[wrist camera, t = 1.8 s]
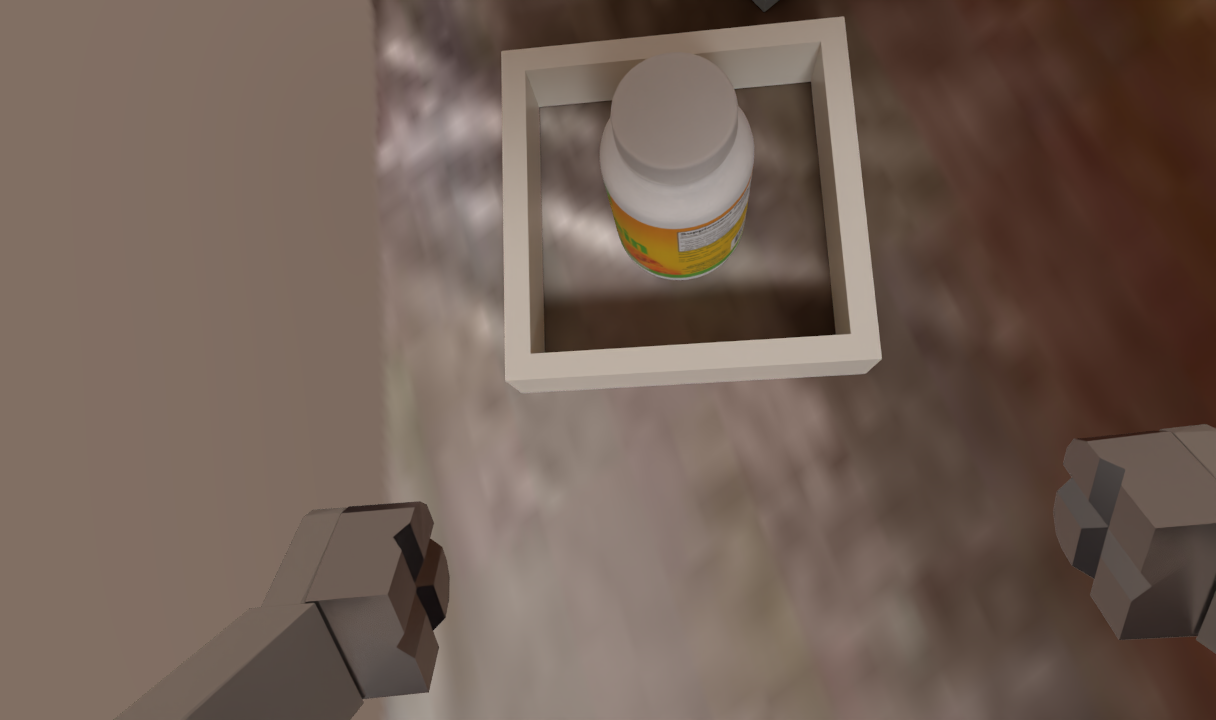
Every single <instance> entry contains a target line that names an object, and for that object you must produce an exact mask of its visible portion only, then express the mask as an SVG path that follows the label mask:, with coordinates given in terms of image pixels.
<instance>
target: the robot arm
mask: <svg viewBox="0 0 1216 720" xmlns="http://www.w3.org/2000/svg"><path fill="white" fill-rule="evenodd" d="M1063 465H1064V466H1065V468H1066V469H1067V471H1068V472H1069V473H1070V475H1071V476H1072V478H1071V479H1070V480H1069V481H1068V482H1066V483H1065V484H1064V485H1063V486H1062V487H1061V488H1060V489H1059V490H1058V491H1057V494H1056V499H1055V505H1054V511H1053V513H1054V521H1055V528H1056V534H1057V537H1058V539H1059V542H1060V545H1061V547H1062V550H1063V551H1064V553H1065V555H1066V556H1067V558H1068V560H1069V561H1070V563H1071V565H1072V566H1073V567H1075V568H1077V569H1078V570H1080V571H1082V572H1083V573H1085V574H1087V575H1088V576H1090V577H1092V578H1093V579H1094V583H1093V586H1092V590H1091V594H1090V595H1091V597H1092V598H1093V600H1094V601H1095V603H1096V605H1097V606H1098V608H1099V609H1100V611H1101V612H1102V614H1103V615H1104V617H1105V619H1106V620H1107V622H1108V623H1109V625H1110V626H1111V628H1112V630H1113V631H1114V633H1115V634H1116V636H1117V637H1118V639H1119V640H1130V639H1150V638H1170V637H1190V636H1197V639H1196V640H1197V641H1199V642H1200V643H1201V644H1203V645H1204V646H1206V647H1207V648H1208V649H1210V650H1211V651H1213V652H1214V653H1216V428H1213V427H1211V426H1209V425H1206V424H1203V425H1194V426H1185V427H1177V428H1168V429H1161V430H1159V431H1146V432H1136V433H1126V434H1116V435H1107V436H1097V437H1087V438H1078V439H1073V441H1072V442H1071V443H1070V445H1069V446H1068V448H1067V450H1066V454H1065V458H1064V462H1063ZM433 525H434V522H433V519H432V517H431V514H430V512H429V509H428V507H427V504H424V503H422V502H406V503H392V504H378V505H365V506H352V507H351V506H350V507H348V508H333V509H318V510H312V511H310V512H309V513H308V514H307V515H305V516H304V517H303V519H302V521H301V523H300V525H299V527H298V529H297V531H296V533H295V536H294V538H293V540H292V542H291V544H290V546H289V549H288V551H287V553H286V555H285V557H284V559H283V561H282V563H281V565H280V568H279V570H278V572H277V574H276V576H275V578H274V580H273V582H272V585H271V587H270V589H269V591H268V594H267V595H266V597H265V600H264V602H263V604H262V606H261V607H260V608H250V609H248V610H247V611H246V612H245V613H243V614H242V615H241V616H240V617H239V618H237V619H236V620H235V621H234V622H233V623H231V624H230V625H229V626H228V627H227V628H225V629H224V630H223V631H221V632H220V633H219V634H218V635H217V636H215V637H214V638H213V639H212V640H210V641H209V642H208V643H207V644H205V645H204V646H203V647H202V648H201V649H199V650H198V651H197V652H196V653H195V654H194V655H192V656H191V657H190V658H188V659H187V660H186V661H185V662H183V663H182V664H181V665H180V666H179V667H177V668H176V669H175V670H174V671H172V672H171V673H170V674H169V675H168V676H166V677H165V678H164V679H163V680H161V681H160V682H159V683H158V684H157V685H155V686H154V687H153V688H152V689H150V690H149V691H148V692H147V693H145V694H144V695H143V696H142V697H141V698H139V699H138V700H137V701H136V702H134V703H133V704H132V705H131V706H130V707H128V708H127V709H126V710H125V711H124V712H122V713H121V714H120V715H119V716H117V717H116V718H115V719H114V720H350V719H351V718H352V717H353V716H354V714H355V713H356V712H357V711H358V710H359V708H360V707H361V706H362V705H363V703H364V702H363V699H369V698H379V697H388V696H398V695H408V694H417V693H427V692H429V689H430V684H431V680H432V676H433V671H434V667H435V662H436V658H437V654H438V649H439V646H438V643H437V640H436V638H435V635H434V632H433V630H434V629H435V628H436V627H437V626H438V625H439V624H440V623H441V622H442V621H443V620H444V619H445V618H446V613H447V608H448V603H449V580H450V577H449V571H448V565H447V560H446V557H445V554H444V551H443V548H442V547H441V546H440V545H439V544H437V543H436V542H434V541H433V540H432V539H430V536H431V532H432V528H433Z"/></svg>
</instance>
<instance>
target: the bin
mask: <svg viewBox="0 0 1216 720" xmlns="http://www.w3.org/2000/svg"><path fill="white" fill-rule="evenodd" d="M671 52H683V53H691V54H695V55H698V56H701V57H703V58H705V59H707V60H709V61H711V62H712V63H714V64H715V65H717V66H718V67H719V68H720V69H721V70H722V71H723V72H724V73H725V74H726V75H727V77H728V78H729V80H730V82H731V83H732V85H733V88H734V89H738V88H749V87H760V86H771V85H781V84H792V83H803V82H811V88H812V99H813V109H814V119H815V129H816V139H817V149H818V159H819V170H820V180H821V190H822V200H823V210H824V220H825V230H826V241H827V251H828V261H829V271H830V281H831V291H832V302H833V312H834V322H835V332H836V335H827V336H810V337H794V338H778V339H762V340H746V341H729V342H713V343H697V344H681V345H664V346H648V347H632V348H616V349H599V350H583V351H567V352H551V353H545V336H544V292H543V248H542V204H541V159H540V115H539V107H545V106H556V105H567V104H578V103H588V102H599V101H610V100H613V97H614V94H615V91H616V89H617V87H618V85H619V84H620V82H621V80H622V79H623V78H624V76H625V75H626V74H627V73H628V72H629V71H630V70H631V69H632V68H634V67H635V66H636V65H638V64H639V63H641V62H642V61H644V60H646V59H648V58H651V57H653V56H656V55H659V54H664V53H671ZM501 72H502V154H503V235H504V317H505V381H506V382H508V383H509V384H510V385H512V386H513V387H514V388H516V389H517V390H518V391H520V392H521V393H535V392H553V391H571V390H588V389H606V388H624V387H641V386H659V385H677V384H695V383H712V382H730V381H748V380H765V379H783V378H801V377H818V376H836V375H854V374H866V373H867V372H868V371H869V370H870V369H871V368H872V367H873V366H875V365H876V364H877V363H878V362H879V361H880V360H881V359H882V356H881V347H880V338H879V329H878V319H877V310H876V301H875V292H874V283H873V274H872V265H871V256H870V247H869V238H868V228H867V219H866V210H865V201H864V192H863V183H862V174H861V165H860V156H859V146H858V137H857V128H856V119H855V110H854V101H853V92H852V83H851V74H850V65H849V55H848V46H847V37H846V28H845V19H844V17H834V18H824V19H814V20H804V21H794V22H784V23H774V24H765V25H755V26H745V27H735V28H725V29H715V30H705V31H695V32H685V33H675V34H665V35H656V36H646V37H636V38H626V39H616V40H606V41H596V42H586V43H576V44H566V45H556V46H547V47H537V48H527V49H517V50H507V51H501Z"/></svg>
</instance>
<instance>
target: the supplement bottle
mask: <svg viewBox="0 0 1216 720" xmlns="http://www.w3.org/2000/svg"><path fill="white" fill-rule="evenodd" d="M753 165H754V140H753V135H752V131H751V128H750V125H749V122H748V120H747V118H746V116H745V114H744V113H743V111H742V110H741V108H740V107H739V106H738V102H737V96H736V93H735V90H734V88H733V85H732V83H731V82H730V80H729V78H728V77H727V75H726V74H725V73H724V72H723V71H722V70H721V69H720V68H719V67H718V66H717V65H715V64H714V63H712V62H711V61H709V60H707V59H705V58H703V57H701V56H698V55H695V54H691V53H683V52H671V53H664V54H659V55H656V56H653V57H651V58H648V59H646V60H644V61H642V62H641V63H639V64H638V65H636V66H635V67H634V68H632V69H631V70H630V71H629V72H628V73H627V74H626V75H625V76H624V78H623V79H622V80H621V82H620V84H619V85H618V87H617V89H616V91H615V94H614V97H613V100H612V104H611V116H610V118H609V120H608V122H607V124H606V126H605V129H604V132H603V135H602V139H601V144H600V167H601V172H602V177H603V181H604V184H605V188H606V191H607V195H608V198H609V202H610V205H611V209H612V212H613V216H614V220H615V223H616V227H617V231H618V234H619V237H620V240H621V242H622V245H623V247H624V249H625V251H626V252H627V254H628V255H629V257H630V258H631V259H632V260H633V261H634V262H635V263H636V264H637V265H638V266H639V267H641V268H642V269H643V270H645V271H647V272H648V273H650V274H652V275H655V276H657V277H660V278H664V279H669V280H688V279H693V278H697V277H700V276H703V275H706V274H708V273H710V272H712V271H714V270H715V269H717V268H718V267H720V266H721V265H722V264H723V263H724V262H725V261H726V260H727V259H728V258H729V257H730V256H731V254H732V253H733V252H734V250H735V249H736V247H737V245H738V243H739V241H740V238H741V236H742V232H743V228H744V224H745V219H746V212H747V205H748V198H749V191H750V184H751V178H752V171H753Z"/></svg>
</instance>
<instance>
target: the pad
mask: <svg viewBox="0 0 1216 720" xmlns="http://www.w3.org/2000/svg"><path fill="white" fill-rule="evenodd" d="M752 1H753V2H754V3H755V4H756V5H757V6H758V7H759V8H760V9H761V10H762V11H763V12H765V11H766V10H768V9H769V8H770V7H771V6H773V5H774V4H775V3H777V2H778V1H779V0H752Z"/></svg>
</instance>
